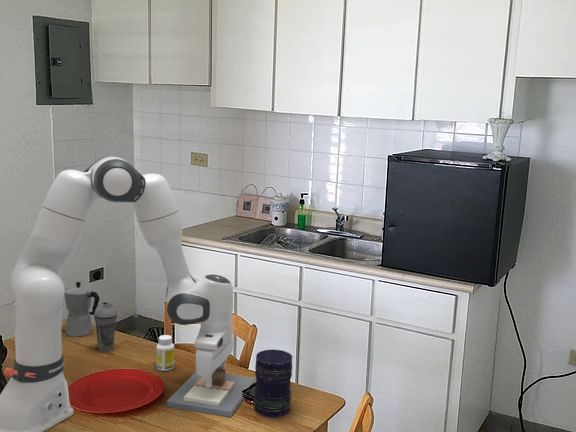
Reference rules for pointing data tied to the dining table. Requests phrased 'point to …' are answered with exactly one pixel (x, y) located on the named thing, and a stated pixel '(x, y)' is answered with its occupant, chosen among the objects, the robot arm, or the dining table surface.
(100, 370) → the dining table surface
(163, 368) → the supplement bottle
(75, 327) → the coffeepot
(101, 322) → the beverage cup
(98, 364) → the dining table surface
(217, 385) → the brown and pink block
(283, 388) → the storage jar
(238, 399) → the board
